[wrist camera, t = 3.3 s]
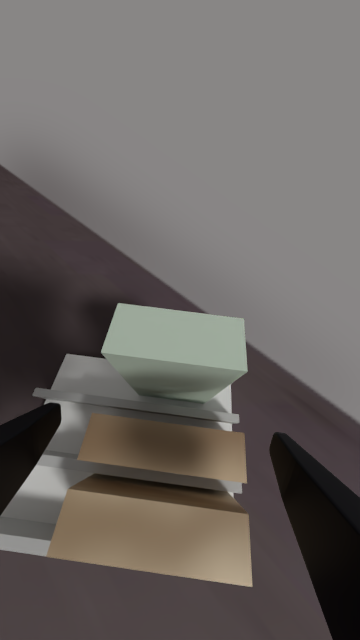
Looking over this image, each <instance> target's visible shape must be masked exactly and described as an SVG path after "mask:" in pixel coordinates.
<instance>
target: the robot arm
mask: <svg viewBox="0 0 360 640" xmlns="http://www.w3.org/2000/svg"><path fill="white" fill-rule="evenodd" d="M61 420H62V417H61V405H60V404H59V403H53V402H50V403H47V404H45V405H43V406H41V407H38V408H36V409H34V410H32V411H30V412H28V413H26V414H24V415H21V416H19V417H17V418H15V419H13V420H11V421H9V422H7V423H5V424H2V425H0V516H1V514H2V513H3V511H4V510H5V509H6V507H7V506H8V504H9V503H10V502H11V500H12V499H13V497H14V496H15V494H16V493H17V492H18V490H19V489H20V487H21V486H22V485H23V483H24V482H25V480H26V479H27V478H28V476H29V475H30V473H31V472H32V470H33V469H34V467H35V466H36V464H37V463H38V461H39V460H40V458H41V456H42V455H43V453H44V451H45V450H46V448H47V446H48V445H49V443H50V441H51V439H52V438H53V436H54V434H55V433H56V431H57V429H58V428H59V426H60V424H61ZM269 451H270V456H271V460H272V464H273V467H274V471H275V475H276V478H277V482H278V486H279V490H280V493H281V497H282V500H283V503H284V506H285V509H286V511H287V514H288V517H289V520H290V523H291V525H292V528H293V531H294V534H295V536H296V539H297V542H298V545H299V548H300V550H301V553H302V556H303V559H304V561H305V564H306V567H307V570H308V572H309V575H310V578H311V581H312V584H313V586H314V589H315V592H316V595H317V597H318V600H319V603H320V606H321V609H322V611H323V614H324V617H325V620H326V622H327V625H328V628H329V631H330V633H331V636H332V639H333V640H360V497H358V496H357V495H356V494H355V493H354V492H353V491H352V490H350V489H349V488H348V487H347V486H346V485H345V484H343V483H342V482H341V481H340V480H339V479H338V478H337V477H335V476H334V475H333V474H332V473H331V472H330V471H328V470H327V469H326V468H325V467H324V466H323V465H322V464H320V463H319V462H318V461H317V460H316V459H315V458H313V457H312V456H311V455H310V454H309V453H308V452H306V451H305V450H304V449H303V448H302V447H301V446H300V445H298V444H297V443H296V442H295V441H294V440H293V439H291V438H290V437H289V436H288V435H287V434H285V433H280V432H275V433H274V435H273V438H272V441H271V444H270V449H269Z"/></svg>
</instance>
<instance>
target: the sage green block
mask: <svg viewBox="0 0 360 640" xmlns="http://www.w3.org/2000/svg"><path fill="white" fill-rule="evenodd" d="M101 353H102V355H103V356H104V357H105V358H106V359H107V360H108V361H109V362H110V364H111V365H112V366H113V367H114V368H115V369H116V370H117V371H118V373H119V374H120V375H121V376H122V377H123V378H124V379H125V380H126V382H127V383H128V384H129V385H130V386H131V387H132V388H133V389H134V391H135V392H136V393H137V394H138V395H140V396H148V397H155V398H163V399H171V400H178V401H186V402H193V403H201V404H204V403H206V402H207V401H209V400H210V399H211V398H213V397H214V396H215V395H217V394H218V393H219V392H221V391H222V390H223V389H225V388H226V387H227V386H229V385H230V384H231V383H233V382H234V381H235V380H237V379H238V378H239V377H241V376H242V375H243V374H245V373H246V372H247V357H246V343H245V328H244V319H242V318H234V317H225V316H218V315H210V314H202V313H194V312H186V311H178V310H170V309H162V308H154V307H146V306H137V305H129V304H121V303H118V305H117V308H116V310H115V313H114V316H113V319H112V322H111V325H110V328H109V330H108V333H107V336H106V339H105V342H104V345H103V347H102V350H101Z"/></svg>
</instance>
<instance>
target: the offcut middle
mask: <svg viewBox="0 0 360 640" xmlns="http://www.w3.org/2000/svg"><path fill="white" fill-rule="evenodd" d="M77 460H82V461H89V462H96V463H103V464H110V465H118V466H125V467H132V468H139V469H147V470H154V471H161V472H168V473H176V474H183V475H190V476H197V477H205V478H212V479H219V480H226V481H233V482H241V483H247V476H246V457H245V437H244V433H239V432H232V431H224V430H217V429H210V428H202V427H195V426H187V425H180V424H172V423H165V422H157V421H150V420H142V419H135V418H127V417H120V416H112V415H105V414H97V413H92V414H91V417H90V421H89V424H88V427H87V430H86V433H85V436H84V439H83V442H82V446H81V449H80V452H79V455H78V458H77Z"/></svg>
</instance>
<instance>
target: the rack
mask: <svg viewBox="0 0 360 640" xmlns="http://www.w3.org/2000/svg"><path fill="white" fill-rule="evenodd" d="M32 396H36V397H40V398H44V399H46V401H45V403H44V405H45V404H47V403H50V402H53V403H59V404H60V405H61V417H62V420H61V424H60V426H59V428H58V429H57V431H56V433H55V434H54V436H53V438H52V439H51V441H50V443H49V445H48V446H47V448H46V450H45V451H44V453H43V455H42V456H41V458H40V460H39V461H38V463H37V464H36V466H35V467H34V469H33V470H32V472H31V473H30V475H29V476H28V478H27V479H26V480H25V482H24V483H23V485H22V486H21V487H20V489H19V490H18V492H17V493H16V494H15V496H14V497H13V499H12V500H11V502H10V503H9V504H8V506H7V507H6V509H5V510H4V511H3V513H2V514H1V516H0V550H6V551H13V552H20V553H27V554H34V555H40V556H46V555H47V552H48V549H49V546H50V543H51V539H52V536H53V533H54V530H55V527H56V524H57V521H58V518H59V514H60V511H61V508H62V505H63V502H64V499H65V496H66V493H67V489H68V488H70V487H72V486H73V485H75V484H77V483H79V482H80V481H82V480H84V479H85V478H87V477H89V476H91V475H92V474H94V473H98V474H105V475H112V476H119V477H126V478H134V479H141V480H148V481H155V482H162V483H169V484H177V485H184V486H191V487H198V488H205V489H213V490H220V491H227V492H228V493H229V494H230V495H231V496H232V497H233V492H234V493H241V494H242V483H241V482H233V481H226V480H219V479H212V478H205V477H197V476H190V475H183V474H176V473H168V472H161V471H154V470H147V469H139V468H132V467H125V466H118V465H110V464H103V463H96V462H89V461H82V460H77V458H78V455H79V452H80V449H81V446H82V442H83V439H84V436H85V433H86V430H87V427H88V424H89V421H90V417H91V414H92V413H97V414H105V415H112V416H120V417H127V418H135V419H142V420H150V421H157V422H165V423H172V424H180V425H187V426H195V427H202V428H210V429H217V430H224V431H232V424H235V423H239V415H238V414H231V384H230V385H229V386H227V387H226V388H225V389H223V390H222V391H221V392H219V393H218V394H217V395H215V396H214V397H213V398H211V399H210V400H209V401H207V402H206V403H204V404H201V403H193V402H186V401H178V400H171V399H163V398H155V397H148V396H140V395H138V394H137V393H136V392H135V391H134V389H133V388H132V387H131V386H130V385H129V384H128V383H127V382H126V380H125V379H124V378H123V377H122V376H121V375H120V374H119V373H118V371H117V370H116V369H115V368H114V367H113V366H112V365H111V364H110V362H109V361H108V360H107V359H103V358H95V357H88V356H80V355H72V354H66V356H65V358H64V361H63V363H62V365H61V367H60V370H59V372H58V374H57V376H56V379H55V381H54V383H53V385H52V387H51V390H49V389H42V388H35V390H34V393H33V395H32Z"/></svg>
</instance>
